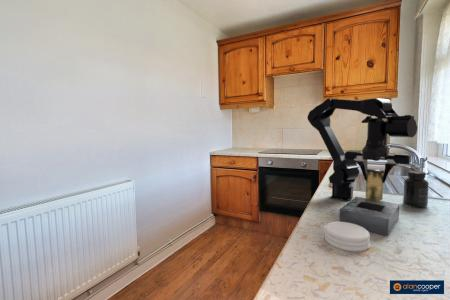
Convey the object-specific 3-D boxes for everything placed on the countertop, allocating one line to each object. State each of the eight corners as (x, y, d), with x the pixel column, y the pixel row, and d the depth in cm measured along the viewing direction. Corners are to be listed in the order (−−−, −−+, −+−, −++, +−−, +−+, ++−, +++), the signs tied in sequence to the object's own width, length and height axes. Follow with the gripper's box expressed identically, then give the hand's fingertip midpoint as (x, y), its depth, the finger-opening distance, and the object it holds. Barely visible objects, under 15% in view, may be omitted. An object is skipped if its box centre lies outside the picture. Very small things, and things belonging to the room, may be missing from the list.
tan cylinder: (363, 198, 82) (365, 170, 81) (367, 195, 86) (368, 168, 85) (380, 201, 79) (382, 171, 78) (383, 198, 82) (385, 169, 81)
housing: (339, 223, 70) (339, 208, 69) (355, 209, 81) (356, 196, 80) (387, 236, 61) (388, 219, 61) (398, 218, 73) (399, 204, 72)
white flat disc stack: (318, 243, 59) (318, 229, 59) (332, 230, 66) (333, 217, 66) (362, 258, 52) (363, 242, 52) (374, 241, 59) (374, 228, 59)
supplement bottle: (425, 203, 85) (427, 171, 84) (429, 209, 79) (432, 174, 78) (401, 201, 89) (403, 169, 87) (404, 206, 83) (406, 172, 81)
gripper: (339, 136, 81) (338, 181, 82) (408, 138, 68) (404, 191, 69) (350, 135, 89) (348, 176, 90) (413, 136, 76) (409, 184, 77)
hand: (374, 181), depth 82 cm, fingers closed on tan cylinder, 5 cm apart
